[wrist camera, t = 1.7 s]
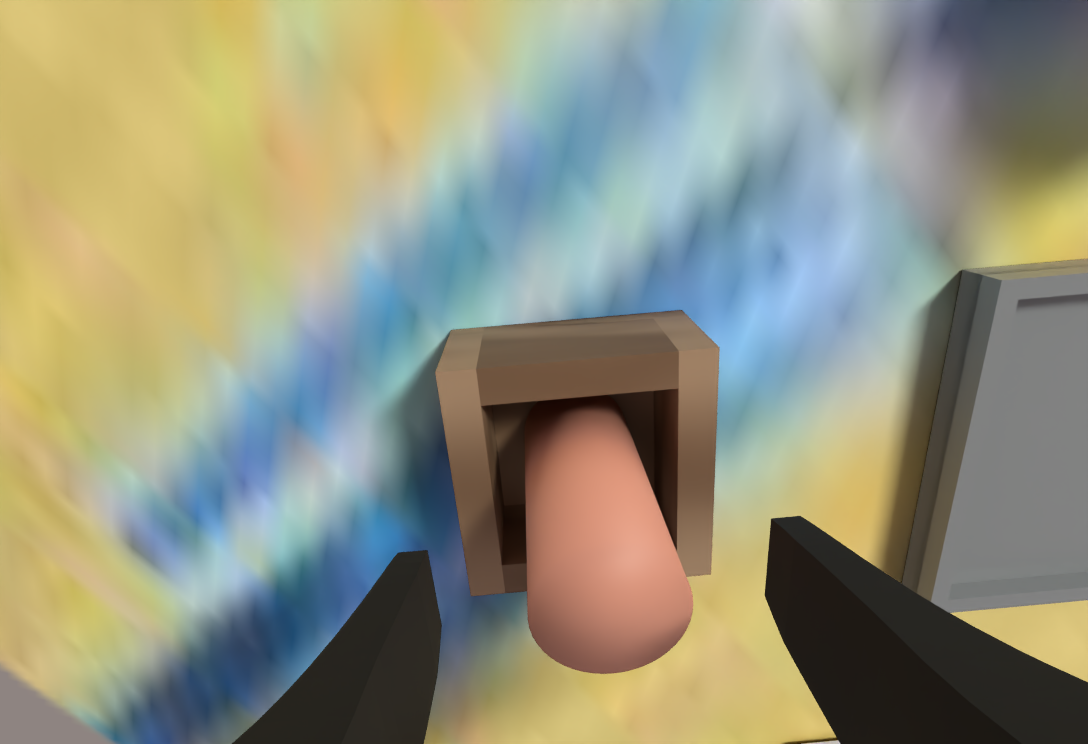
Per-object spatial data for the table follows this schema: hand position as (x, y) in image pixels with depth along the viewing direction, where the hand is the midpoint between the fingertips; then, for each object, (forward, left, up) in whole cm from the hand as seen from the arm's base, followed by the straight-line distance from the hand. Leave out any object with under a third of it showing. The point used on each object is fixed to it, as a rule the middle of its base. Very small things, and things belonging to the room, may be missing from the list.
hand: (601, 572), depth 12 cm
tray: (-2, -18, -7) cm, 19 cm away
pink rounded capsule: (0, 0, -7) cm, 7 cm away
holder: (0, 0, -7) cm, 7 cm away
